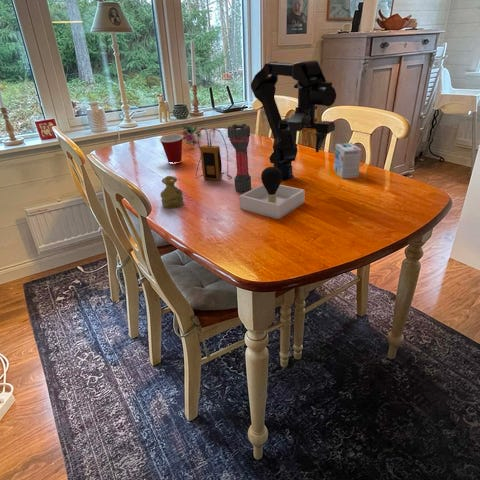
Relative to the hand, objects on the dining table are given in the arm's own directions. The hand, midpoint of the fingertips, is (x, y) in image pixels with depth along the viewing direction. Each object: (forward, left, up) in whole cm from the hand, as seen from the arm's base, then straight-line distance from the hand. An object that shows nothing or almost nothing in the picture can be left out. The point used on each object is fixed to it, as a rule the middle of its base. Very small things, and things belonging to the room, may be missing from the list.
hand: (305, 150), depth 126 cm
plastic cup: (-66, -4, -13) cm, 67 cm away
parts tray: (0, -21, -13) cm, 25 cm away
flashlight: (-17, -15, -13) cm, 26 cm away
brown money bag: (-29, -38, -13) cm, 50 cm away
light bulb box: (+7, +20, -13) cm, 25 cm away
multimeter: (-36, -8, -13) cm, 39 cm away
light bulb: (0, -21, -12) cm, 24 cm away
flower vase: (-88, +27, -13) cm, 93 cm away
